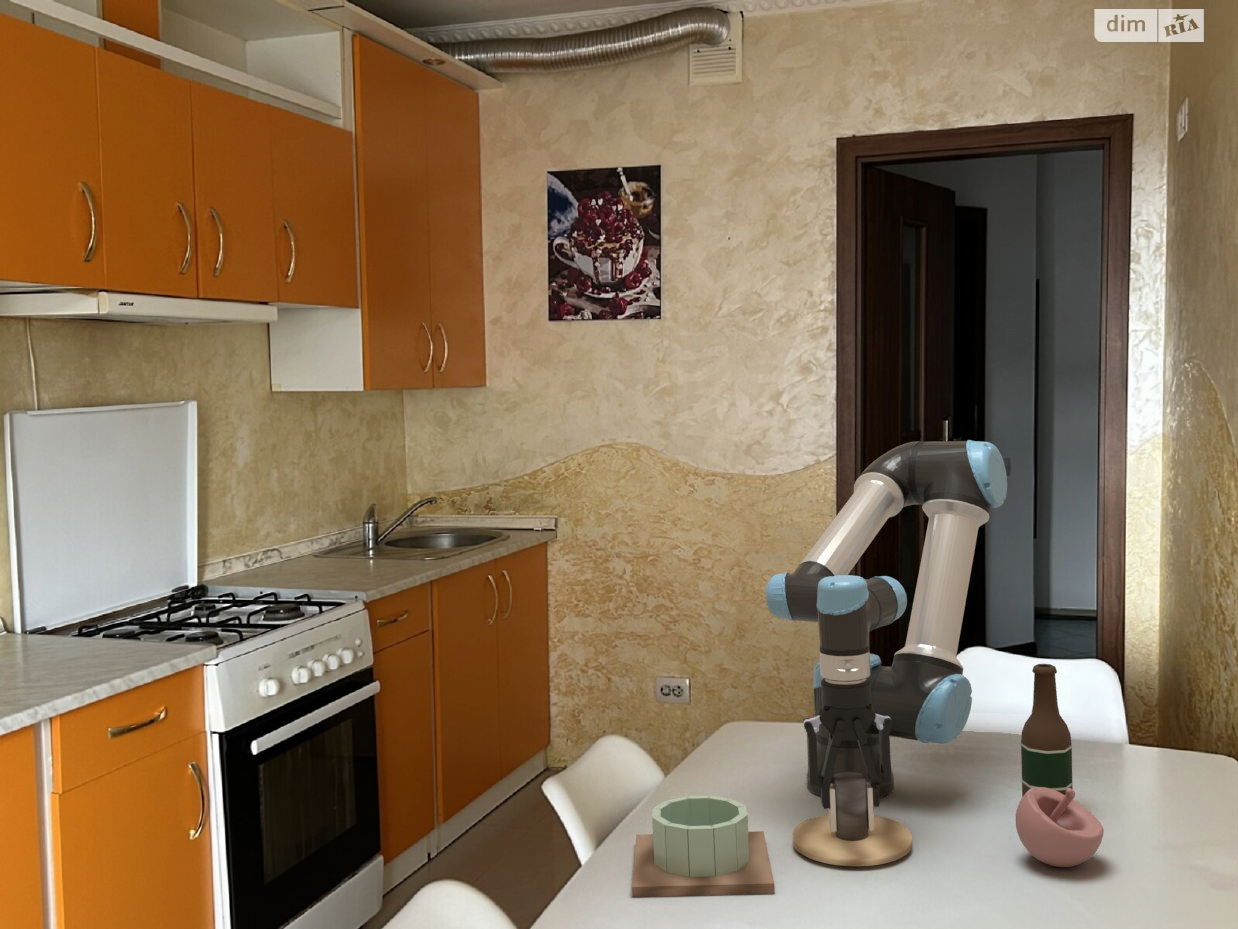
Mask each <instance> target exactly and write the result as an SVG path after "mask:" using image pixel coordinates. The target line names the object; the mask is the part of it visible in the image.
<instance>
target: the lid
mask: <svg viewBox="0 0 1238 929" xmlns="http://www.w3.org/2000/svg"><path fill="white" fill-rule="evenodd" d="M833 787H834V789H835V803H836V828H837V832H832V831H831V828H830V825H829V814H825V815H820V816H819V815H818V816H816V817H812V818H809V819H806V820H804V821H803V822H800V823H799V824H798V825H797V826H795V828H794V829H793V832H792V844H793V847H794V849H795V850H796V851H797V852H798V853H800V854H801V855H803V856H805V857H806V858H807V859H810V860H813V861H817V862H819V863H820V862H821V863H822V864H823V863H824V864H829V865H834V866H843V867H870V866H877V865H883V864H884V865H885V864H887V863H892V862H894V861H897V860H900V859H902V858H904V857H906V856H907V855H908V854H909V853H910V851H912V848H913V834H912V832H911V830H910V829H909V828H908V827H907V826H906V825H904V824H902V823H901V822H899V821H897V820H894V819H890V818H887V817H883V816H879V815H875V814H874V830H869V829H868V811H867V784H866V776H865V775H863V774H861V773H856V772H842V773H838V774H835V775H834V776H833Z"/></svg>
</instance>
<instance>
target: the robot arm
mask: <svg viewBox="0 0 1238 929" xmlns="http://www.w3.org/2000/svg"><path fill="white" fill-rule="evenodd" d="M1007 476H1008V475H1007V470H1006V466H1005V462H1004V459H1003V456H1002V454H1001V452H1000V451H999V449H998V447H997V446H996V445H995V444H993V443H991V442H989V441H981V440H980V441H979V440H978V441H975V440H972V439H967V440H957V441H956V440H955V441H954V440H953V441H950V440H949V441H923V440H922V441H921V440H920V441H910V442H906V443H903V444H900V445H898V446H896V447H894V448H892V449H890V450H888V451H887V452H885V453H884V454H882V455H880V456H879V457H877V459H875V460H874V461H873V462H872V463H870V464H869V465H868V466H867V467H866V468H865V469H864V471H862V472H861V474H860V475H859V476H858V478H857V479H856V480H855V482H854V484H853V493H852V495H851V496H850V497H849V499H848V500H847V502H845V504H844V505H843V506H842V508H841V509H840V510H839V512H838V514H836V516H835V518H834V519H833V520H832V521H831V523H830V524H829V525H828V527H827V528H826V529H825V530H824V532H823V533H822V534H821V536H820V537H819V538H818V539H817V540H816V543H815V544H814V545H813V546H812V547H811V549H810V550H809V551H808V553H807V554H806V555H805V557H803V559H802V561H801V562H800V563H799V565H798V566H797V567H796V569H795V570H794V571H793V572H792V573H789V572H784V573H777V574H774V575H773V576H772V577H771V578H770V579H769V580H768V581H767V582H768V583H767V586H766V587H765V588H766V589H765V604H766V605H767V609H768V611H769V613H770V614H771V615H772V616H773V617H775V618H778V619H785V620H790V621H792V622H795V621H796V622H797V621H799V622H809V623H811V622H812V623H818V636H819V640H818V641H819V662H817V663H816V664H815V666H814V668H813V678H812V682H813V683H812V689H813V691H812V694H813V710H814V711H813V713H814V715H813V716H814V717H811V718H809V717H804V718H803V720H802V725H803V727H804V731H805V732H806V744H807V746H806V747H807V751H806V752H807V772H806V787H807V790H809V791H810V792H811V793H812V794H815V795H817V796H819V797H820V799H821V800H820V802H821V806H822V808H823V810H827V809H828V815H829V825H830V828H831V831H832V832H837V828H836V803H835V789H834V787H833V776H834V775H835V774H838V773H842V772H856V773H861V774H863V775H865V776H866V784H867V811H868V829H869V830H874V815H875V814H874V808H879V807H880V805H881V798H882V797H886V796H888V795H890V794H891V793H892V792H894V789H895V774H894V772H893V769H892V762H891V743H890V741H891V740H890V737H892V738H893V737H894V738H898V739H899V738H900V739H905V740H911V741H918V742H920V743H923V744H930V743H931V744H933V743H934V744H948V743H949V744H950V743H951V742H953V741H954V740H956V739H957V738H958V737H959V735H961V734H962V732H963V730H964V728H965V727H966V725H967V722H968V720H969V716H970V714H971V709H972V704H973V697H972V696H971V695H972V692H973V690H972V685H971V683H970V680H969V679H968V678H967V676H965V675H964V667H963V665H962V664H961V663H960V661H959V660H958V658H957V654H958V649H959V642H960V636H961V631H962V625H963V618H964V614H965V609H966V608H965V607H966V601H967V596H968V590H969V585H970V578H971V574H972V568H973V567H972V566H973V562H974V556H975V549H976V545H977V538H978V531H979V528H980V527H981V526H983V525H985V524H986V523H987V522H989V520H990V515H991V510H992V508H993V509H997V508H999V507H1001V506H1003V505H1004V502H1005V501H1006V498H1007V492H1008V478H1007ZM912 505H921V506H922V507H921V508H922V511H923V512H924V514H925V515H926V516H927V518H928V521H927V522H928V523H927V529H926V533H925V539H924V544H923V549H922V554H921V559H920V560H921V561H920V565H919V571H918V576H917V581H916V585H915V586H916V587H915V592H914V597H913V603H912V607H911V608H912V609H911V613H910V620H909V623H908V630H907V635H906V639H905V640H906V641H905V644H904V647H902V648H901V649H900V650H898V651H896V652H895V653H894V655H893V660H892V665H891V666H883V665H882V660H881V657H880V656H879V655H878V654H876V653H875V654H874V653H870V650H871V648H870V632H872V631H874V630H877V629H879V628H882V627H884V626H885V627H886V626H888V625H891V624H892V623H894V622H895V621H896V620H898V619H900V617H902V615H903V614H904V613H905V611H906V608H907V604H908V599H907V592H906V590H905V588H904V587H903V585H902V584H901V583H900V582H899V581H898V580H897V579H895V578H893V577H891V576H888V575H881V576H873V577H870V578H869V579H865V578H864V577H861V576H859V575H850V572H852V570H853V568H854V567H855V565H856V564H857V563H858V561H859V560H860V558H861V557H862V555H863V554H864V553H865V551H866V550H867V549H868V547H869V546H870V544H871V543H872V541H873V540H874V539H875V537H876V536H877V535H878V534H879V532H880V531H881V529H882V527H883V526H884V525H885V523H886V522H887V521H888V519H889V518H892V517H895V516H897V515H898V514H899V513H900V512H901V511H902V509H903V508H904V507H907V506H912Z"/></svg>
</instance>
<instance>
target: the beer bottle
mask: <svg viewBox="0 0 1238 929" xmlns="http://www.w3.org/2000/svg"><path fill="white" fill-rule="evenodd" d="M1032 673H1033V674H1034V676H1033V677H1034V679H1033V697H1032V708H1031V714H1030V716H1029V717H1028V718H1027V720H1026V721H1025V722H1024V725H1023V728H1022V730H1021V740H1020V753H1021V755H1020V756H1021V791H1022V792H1021V793H1022V794H1021V796H1022V797H1023V796H1024V795H1025V793H1026V792H1027V791H1028V790H1029V789H1031V788H1033V787H1035V788H1038V787H1045V788H1050V789H1052V790H1055V791H1058V792H1060V793H1061V794H1063V795H1066V790H1067V788H1071V789H1072V790H1074V789H1073V753H1072V752H1073V749H1072V748H1073V745H1072V737H1071V732H1070V730H1069V727H1068V725H1067V723H1066V722H1065V720H1064V719H1063V717H1062V716H1061V714H1060V708H1059V705H1058V694H1057V693H1058V692H1057V682H1056V674H1057V673H1058V670H1057V668H1056V666H1055V665H1053V664H1052V663H1051V664H1050V663H1038V664H1035V665H1033V668H1032ZM1022 797H1021V798H1022Z"/></svg>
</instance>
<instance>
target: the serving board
mask: <svg viewBox="0 0 1238 929" xmlns="http://www.w3.org/2000/svg"><path fill="white" fill-rule="evenodd" d="M765 837H766V836H765V832H764V830H762V831H760V830H759V831H756V830H755V831H748V842H749V862H748V863H747V864H745V865H744V866H743V867H741V868H740V869H739V870H737V871H734V872H730V873H726V874H722V875H719V876H706V877H690V876H689V877H687V876H683V875H678V874H673V873H668V872H666V871H664V870H663V869H661V868H660V867H658V866H657V865H655V864H654V845H653V833H652V834H651V833H649V834H648V833H647V834H636V836H635V846H634V847H635V848H634V849H635V850H634V861H633V871H632V872H633V874H632V884H631V889H632V898H655V897H656V898H657V897H658V898H662V897H696V896H697V897H699V896H704V897H705V896H740V895H743V896H745V895H775V894H776V891H775V890H776V889H775V888H776V887H775V880H774V875H773V871H772V870H773V869H772V866H771V861H770V857H769V850H768V846H767V840H766V838H765Z"/></svg>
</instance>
